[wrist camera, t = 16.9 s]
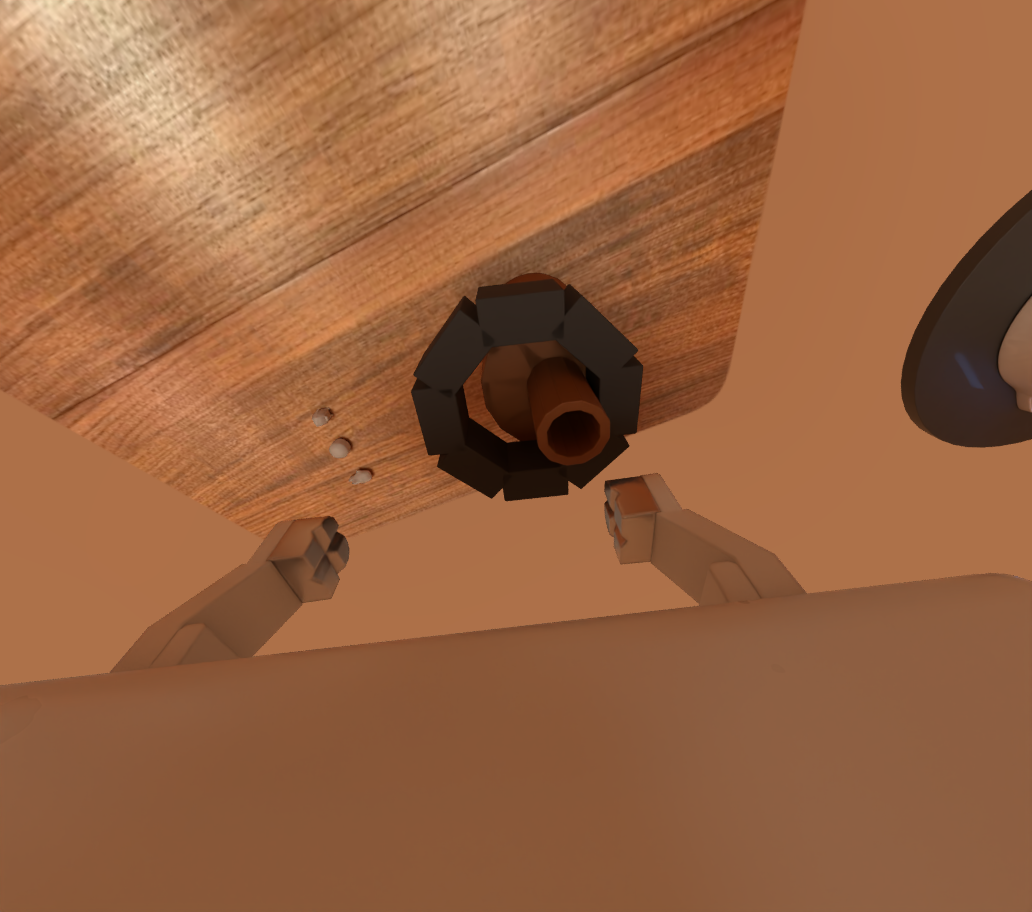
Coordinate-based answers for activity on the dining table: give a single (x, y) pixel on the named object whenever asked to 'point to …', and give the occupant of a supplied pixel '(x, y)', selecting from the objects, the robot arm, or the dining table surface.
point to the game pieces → (340, 446)
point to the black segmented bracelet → (513, 321)
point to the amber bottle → (545, 397)
